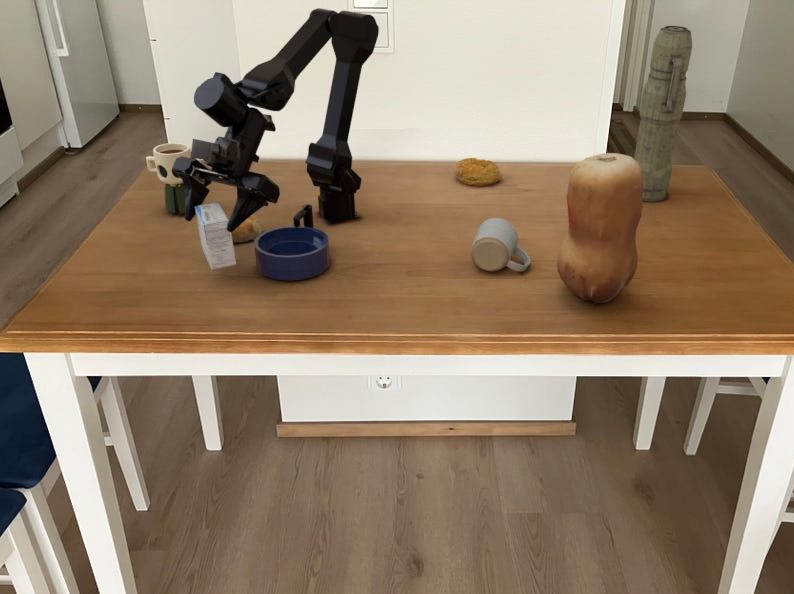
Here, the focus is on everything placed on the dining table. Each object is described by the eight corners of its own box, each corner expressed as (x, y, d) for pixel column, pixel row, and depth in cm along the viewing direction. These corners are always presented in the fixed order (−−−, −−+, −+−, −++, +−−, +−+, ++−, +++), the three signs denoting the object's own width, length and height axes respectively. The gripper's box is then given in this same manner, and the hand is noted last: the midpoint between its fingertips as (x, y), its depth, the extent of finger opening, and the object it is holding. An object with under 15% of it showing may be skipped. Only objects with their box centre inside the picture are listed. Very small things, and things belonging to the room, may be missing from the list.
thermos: (655, 183, 180) (684, 22, 160) (675, 203, 170) (709, 34, 151) (618, 184, 179) (644, 22, 159) (636, 204, 169) (665, 34, 150)
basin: (312, 245, 148) (310, 220, 146) (341, 272, 139) (340, 247, 136) (247, 259, 143) (243, 234, 140) (272, 289, 133) (269, 263, 131)
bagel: (502, 188, 175) (503, 168, 172) (453, 187, 175) (454, 166, 172) (500, 172, 183) (501, 153, 181) (454, 171, 183) (454, 151, 181)
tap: (305, 242, 149) (301, 200, 144) (322, 244, 149) (319, 202, 144) (289, 259, 143) (285, 215, 138) (308, 261, 143) (304, 218, 138)
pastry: (220, 249, 146) (217, 230, 143) (205, 237, 150) (202, 219, 148) (265, 237, 151) (263, 218, 148) (249, 225, 155) (247, 207, 153)
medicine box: (237, 266, 132) (229, 219, 127) (210, 271, 130) (202, 223, 126) (227, 247, 138) (220, 201, 133) (201, 251, 136) (193, 205, 131)
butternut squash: (550, 277, 140) (566, 140, 126) (624, 280, 140) (648, 143, 126) (557, 316, 128) (575, 170, 114) (638, 319, 128) (666, 174, 114)
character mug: (150, 216, 157) (137, 153, 150) (160, 202, 163) (149, 141, 156) (204, 217, 158) (194, 155, 150) (212, 203, 163) (203, 143, 156)
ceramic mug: (468, 271, 141) (470, 232, 136) (476, 252, 147) (479, 214, 143) (526, 279, 139) (530, 240, 135) (532, 259, 146) (536, 221, 141)
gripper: (169, 108, 127) (133, 194, 125) (261, 126, 121) (224, 217, 119) (209, 141, 138) (176, 221, 136) (295, 159, 131) (262, 244, 129)
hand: (207, 225), depth 129 cm, fingers closed on medicine box, 8 cm apart
